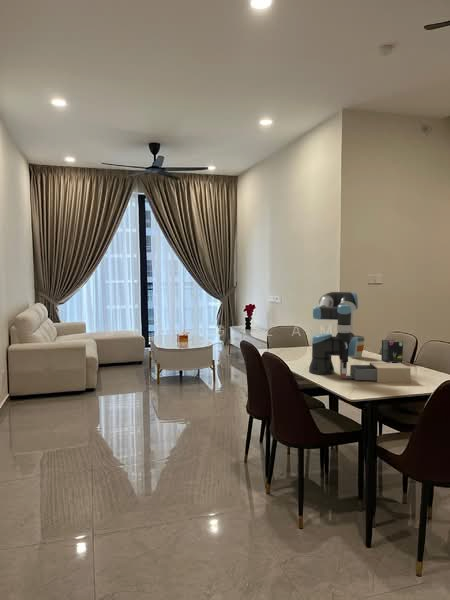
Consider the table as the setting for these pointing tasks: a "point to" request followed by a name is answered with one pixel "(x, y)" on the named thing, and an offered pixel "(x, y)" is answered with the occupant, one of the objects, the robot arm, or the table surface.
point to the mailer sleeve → (392, 372)
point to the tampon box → (392, 351)
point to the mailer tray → (361, 372)
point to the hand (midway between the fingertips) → (343, 372)
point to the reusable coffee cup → (359, 347)
